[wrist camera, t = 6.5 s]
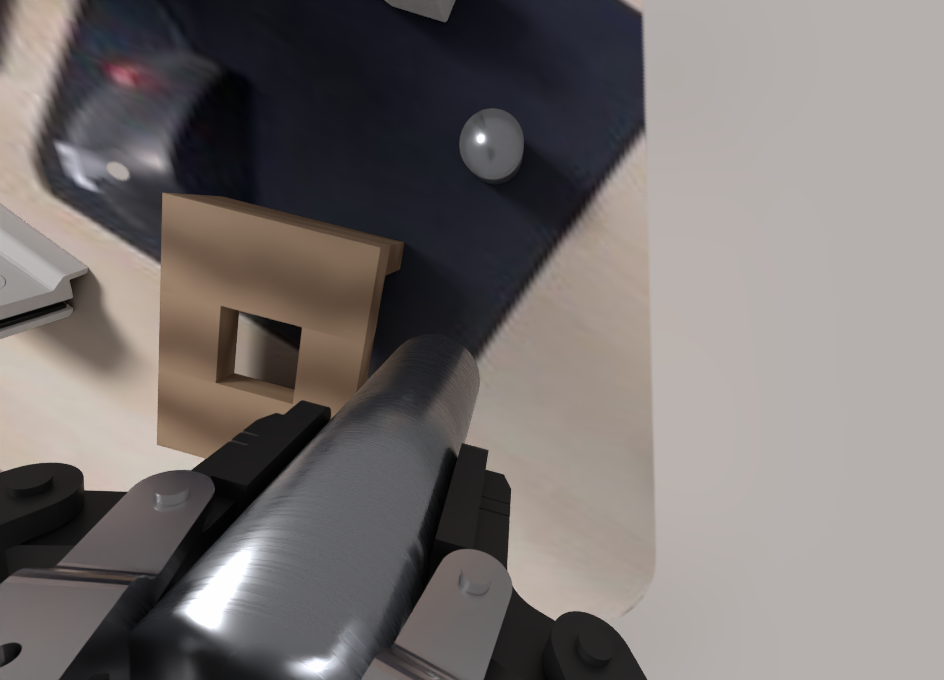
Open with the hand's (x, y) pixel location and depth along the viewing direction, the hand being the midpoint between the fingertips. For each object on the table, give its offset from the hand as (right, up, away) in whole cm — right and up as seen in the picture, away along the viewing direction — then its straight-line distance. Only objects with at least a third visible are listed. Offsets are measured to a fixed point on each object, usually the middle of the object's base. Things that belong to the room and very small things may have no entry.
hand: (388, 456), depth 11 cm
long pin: (+1, +2, +5) cm, 6 cm away
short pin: (+4, +15, +18) cm, 24 cm away
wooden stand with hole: (-11, +3, +23) cm, 26 cm away
